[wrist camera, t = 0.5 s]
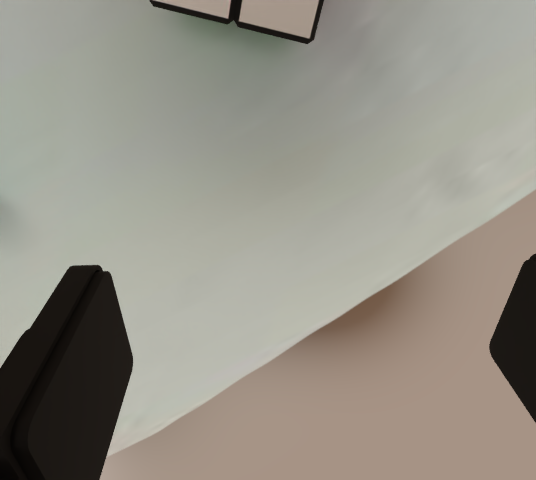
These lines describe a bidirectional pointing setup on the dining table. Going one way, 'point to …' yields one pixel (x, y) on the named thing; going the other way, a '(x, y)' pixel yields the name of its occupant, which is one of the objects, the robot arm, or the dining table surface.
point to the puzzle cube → (256, 15)
